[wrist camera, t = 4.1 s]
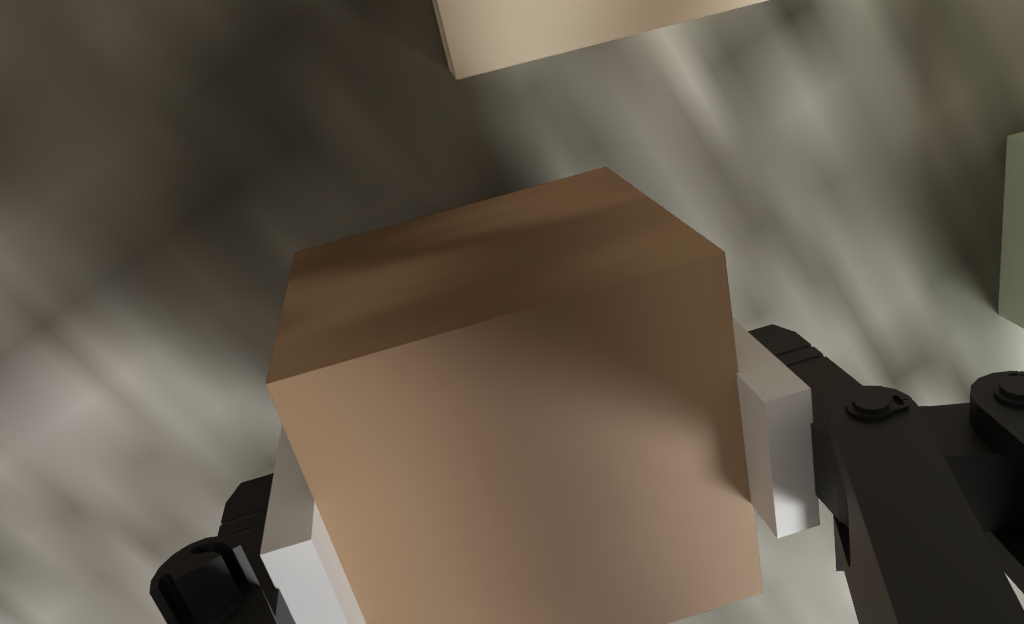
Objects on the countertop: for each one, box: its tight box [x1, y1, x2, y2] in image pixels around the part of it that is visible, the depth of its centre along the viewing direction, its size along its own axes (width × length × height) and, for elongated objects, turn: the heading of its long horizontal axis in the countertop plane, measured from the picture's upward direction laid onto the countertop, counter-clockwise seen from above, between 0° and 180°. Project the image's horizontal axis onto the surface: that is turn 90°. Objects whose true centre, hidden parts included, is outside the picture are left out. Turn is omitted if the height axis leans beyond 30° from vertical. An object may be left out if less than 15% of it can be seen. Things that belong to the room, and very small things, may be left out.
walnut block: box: [266, 167, 763, 624], centre depth 15 cm, size 7×7×6 cm
